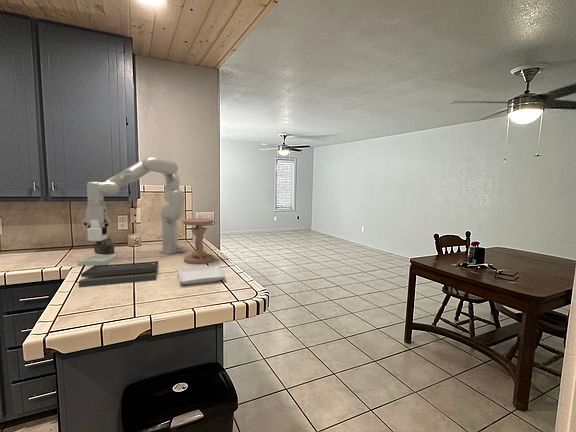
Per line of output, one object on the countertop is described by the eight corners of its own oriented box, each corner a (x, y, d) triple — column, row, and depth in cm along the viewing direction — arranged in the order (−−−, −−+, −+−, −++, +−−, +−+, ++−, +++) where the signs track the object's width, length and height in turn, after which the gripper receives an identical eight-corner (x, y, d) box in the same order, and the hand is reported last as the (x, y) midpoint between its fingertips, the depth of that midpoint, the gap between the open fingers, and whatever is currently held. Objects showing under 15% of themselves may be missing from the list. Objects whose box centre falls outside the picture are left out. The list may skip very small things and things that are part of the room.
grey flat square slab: (176, 274, 156) (176, 268, 155) (218, 270, 164) (218, 264, 164) (179, 288, 137) (179, 281, 136) (226, 282, 145) (226, 276, 145)
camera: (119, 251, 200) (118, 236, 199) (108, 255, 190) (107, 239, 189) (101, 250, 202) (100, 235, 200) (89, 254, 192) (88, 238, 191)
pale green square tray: (117, 259, 181) (117, 255, 181) (103, 265, 167) (103, 261, 167) (94, 258, 181) (94, 254, 181) (78, 265, 167) (78, 260, 167)
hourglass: (213, 263, 176) (213, 221, 173) (182, 264, 173) (181, 221, 170) (214, 256, 193) (214, 217, 191) (186, 257, 190) (185, 217, 187)
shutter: (94, 278, 163) (79, 291, 134) (93, 265, 163) (77, 275, 134) (158, 270, 175) (156, 280, 146) (157, 258, 175) (155, 265, 146)
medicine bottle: (94, 238, 176) (93, 218, 175) (107, 238, 177) (106, 218, 175) (87, 240, 169) (86, 219, 167) (100, 241, 169) (99, 220, 168)
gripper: (114, 203, 174) (116, 233, 176) (84, 202, 174) (86, 232, 176) (107, 204, 167) (108, 235, 169) (75, 203, 166) (77, 235, 169)
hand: (97, 234), depth 172 cm, fingers closed on medicine bottle, 7 cm apart
